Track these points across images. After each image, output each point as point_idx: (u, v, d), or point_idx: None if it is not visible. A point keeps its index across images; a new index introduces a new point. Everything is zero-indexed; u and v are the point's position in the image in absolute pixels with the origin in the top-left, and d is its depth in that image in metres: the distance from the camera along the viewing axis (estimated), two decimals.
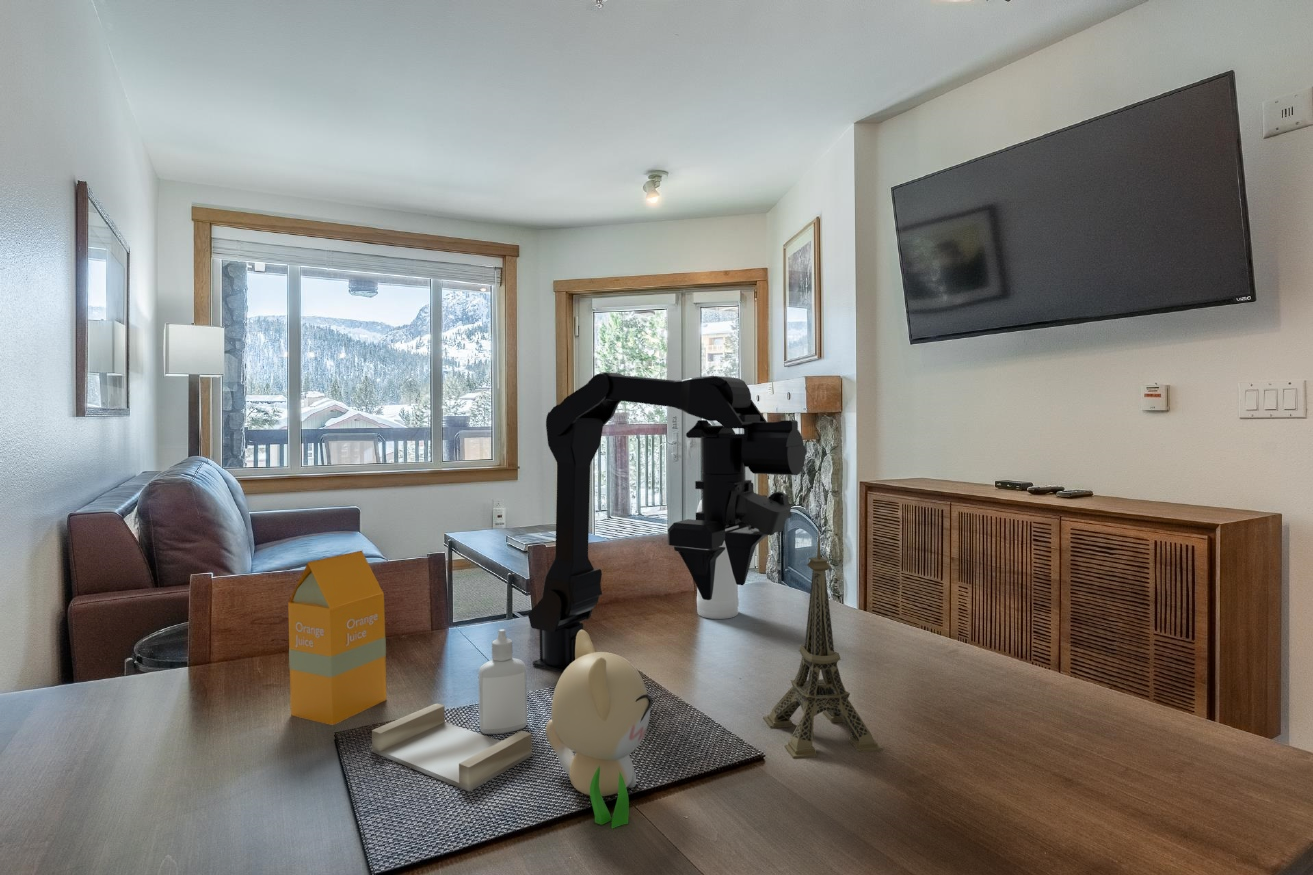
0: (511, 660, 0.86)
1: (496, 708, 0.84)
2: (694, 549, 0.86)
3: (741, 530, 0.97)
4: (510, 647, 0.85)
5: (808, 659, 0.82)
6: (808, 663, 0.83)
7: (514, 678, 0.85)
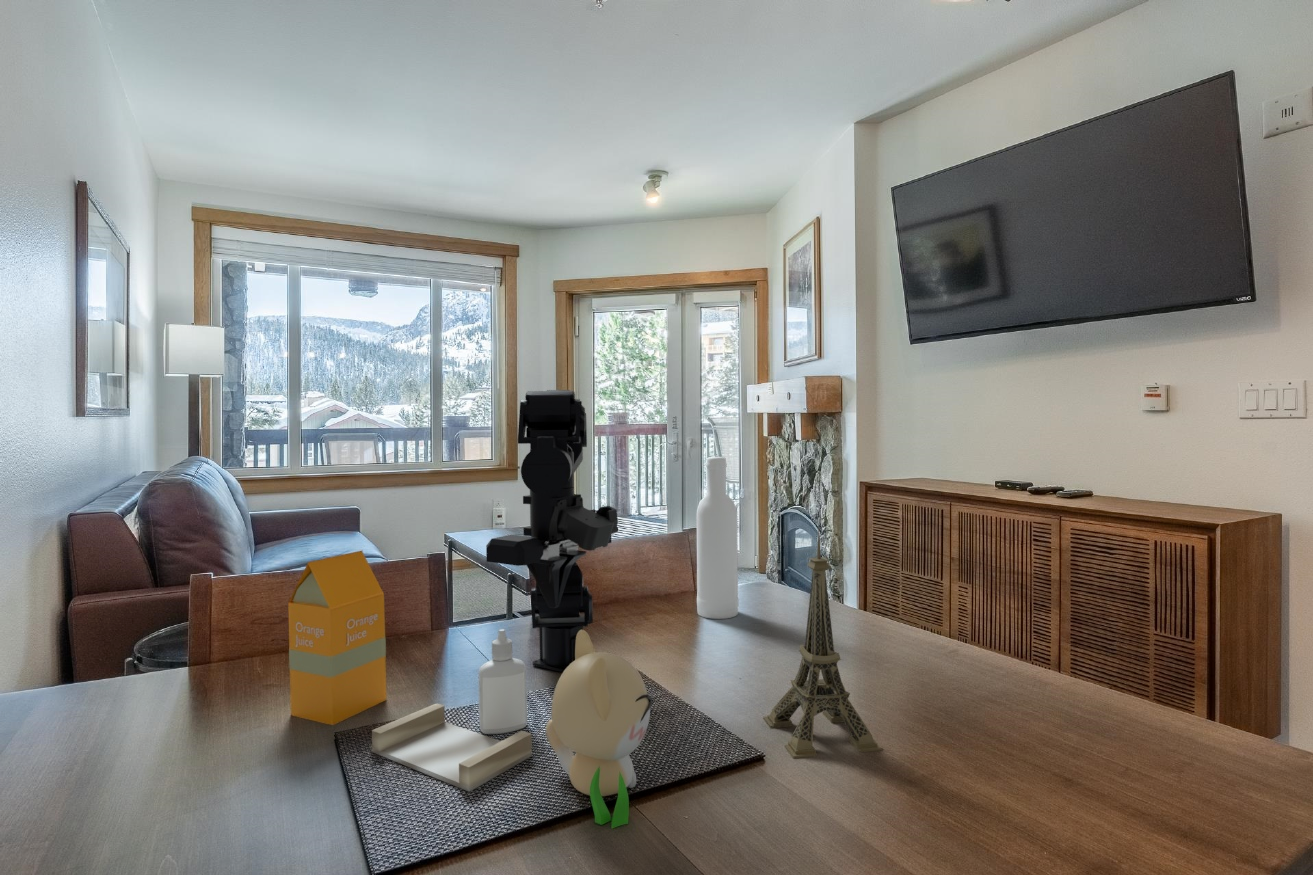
0: (511, 660, 0.86)
1: (496, 708, 0.84)
2: None
3: None
4: (510, 647, 0.85)
5: (808, 659, 0.82)
6: (808, 663, 0.83)
7: (514, 678, 0.85)
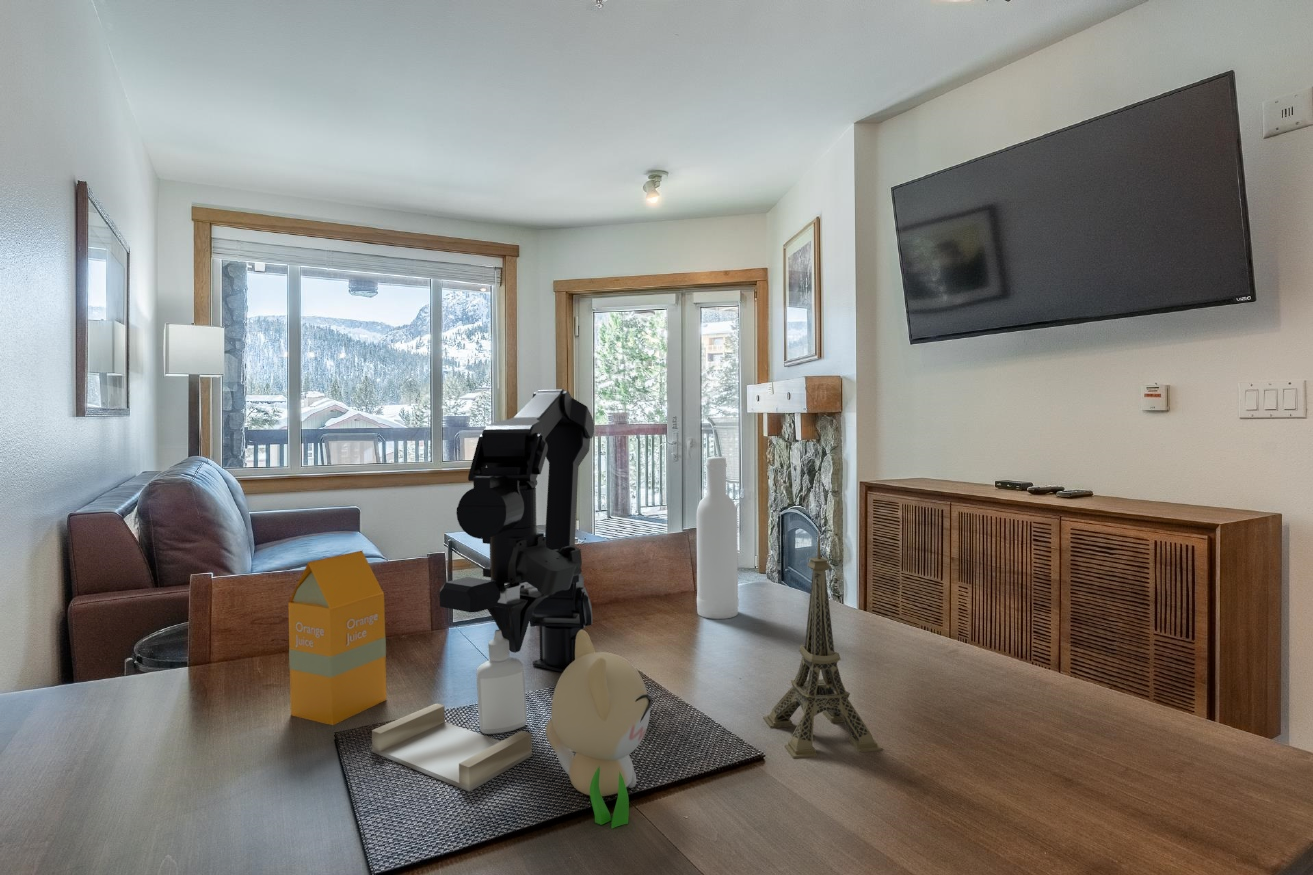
0: (508, 660, 0.85)
1: (495, 708, 0.84)
2: None
3: None
4: (506, 648, 0.85)
5: (808, 659, 0.82)
6: (808, 663, 0.83)
7: (512, 678, 0.85)
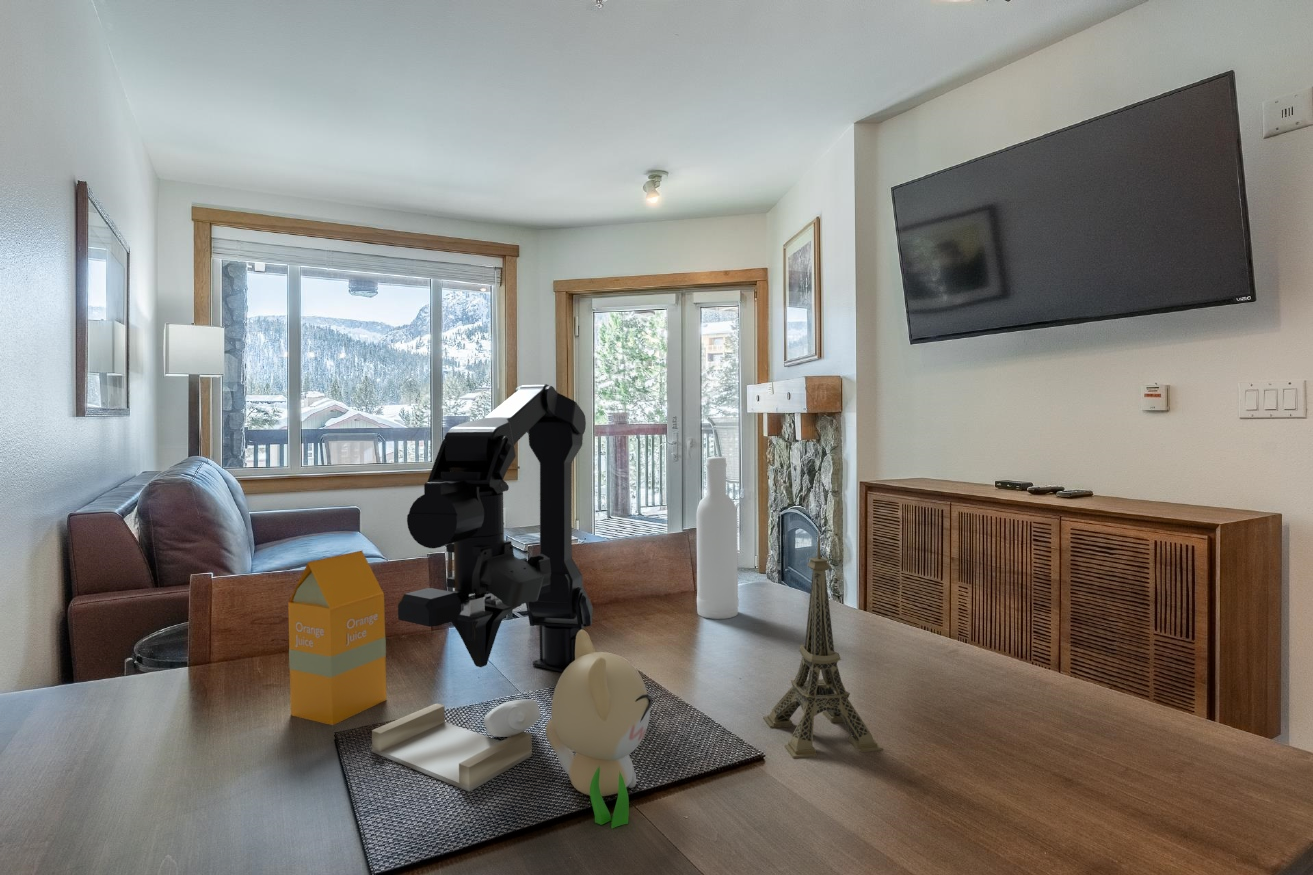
0: None
1: None
2: None
3: (485, 601, 0.84)
4: None
5: (808, 659, 0.82)
6: (808, 663, 0.83)
7: None
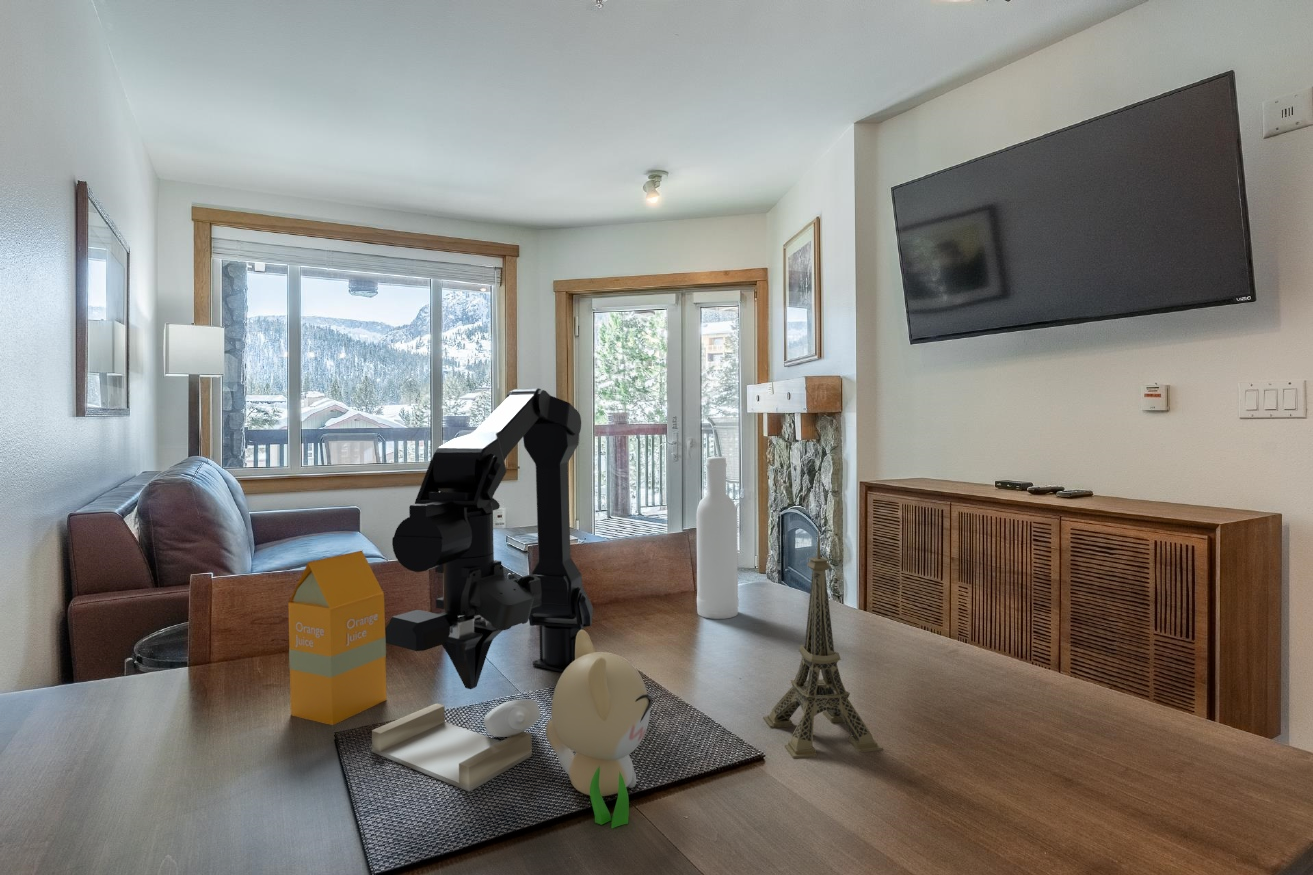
0: None
1: None
2: None
3: (475, 622, 0.83)
4: None
5: (808, 659, 0.82)
6: (808, 663, 0.83)
7: None
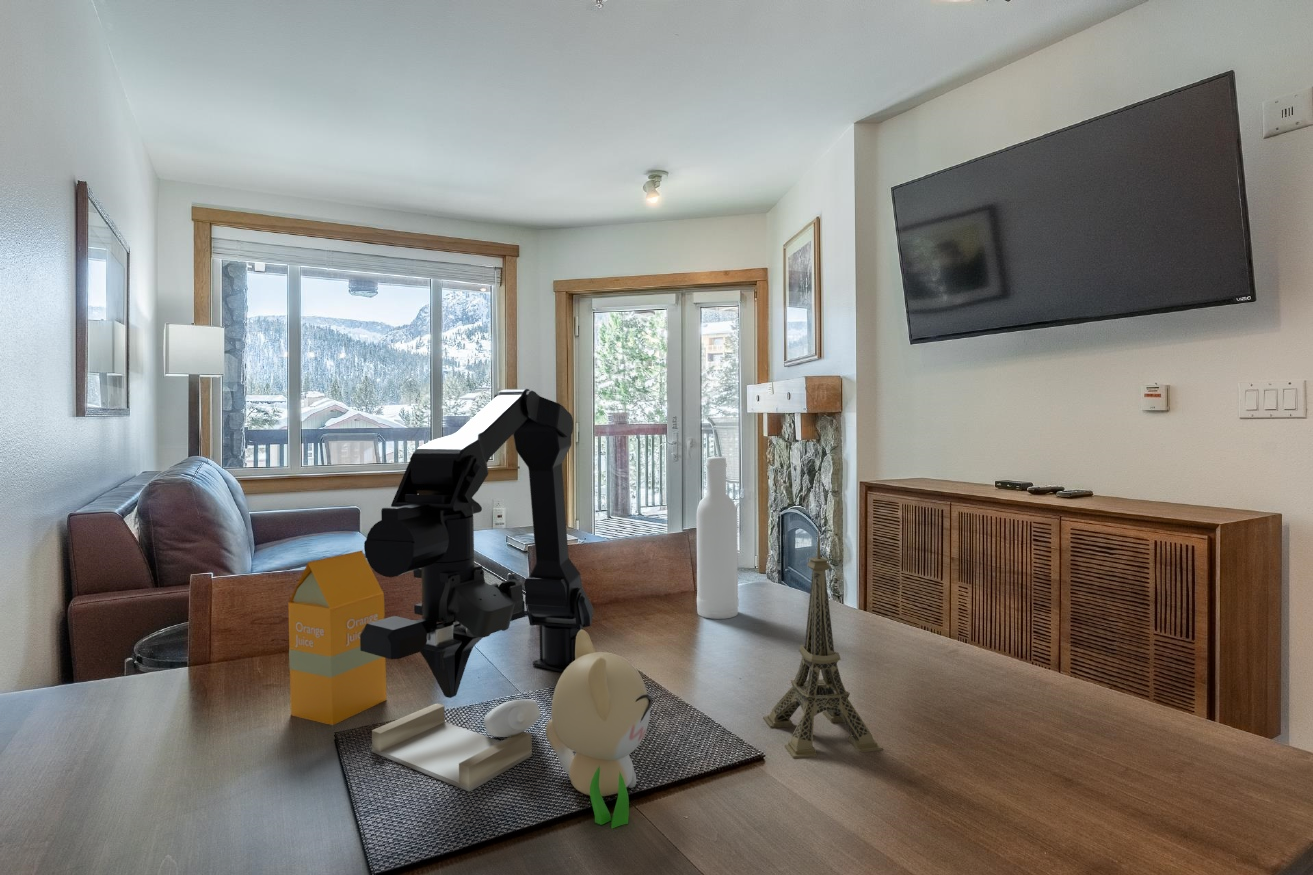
0: None
1: None
2: None
3: (455, 628, 0.80)
4: None
5: (808, 659, 0.82)
6: (808, 663, 0.83)
7: None
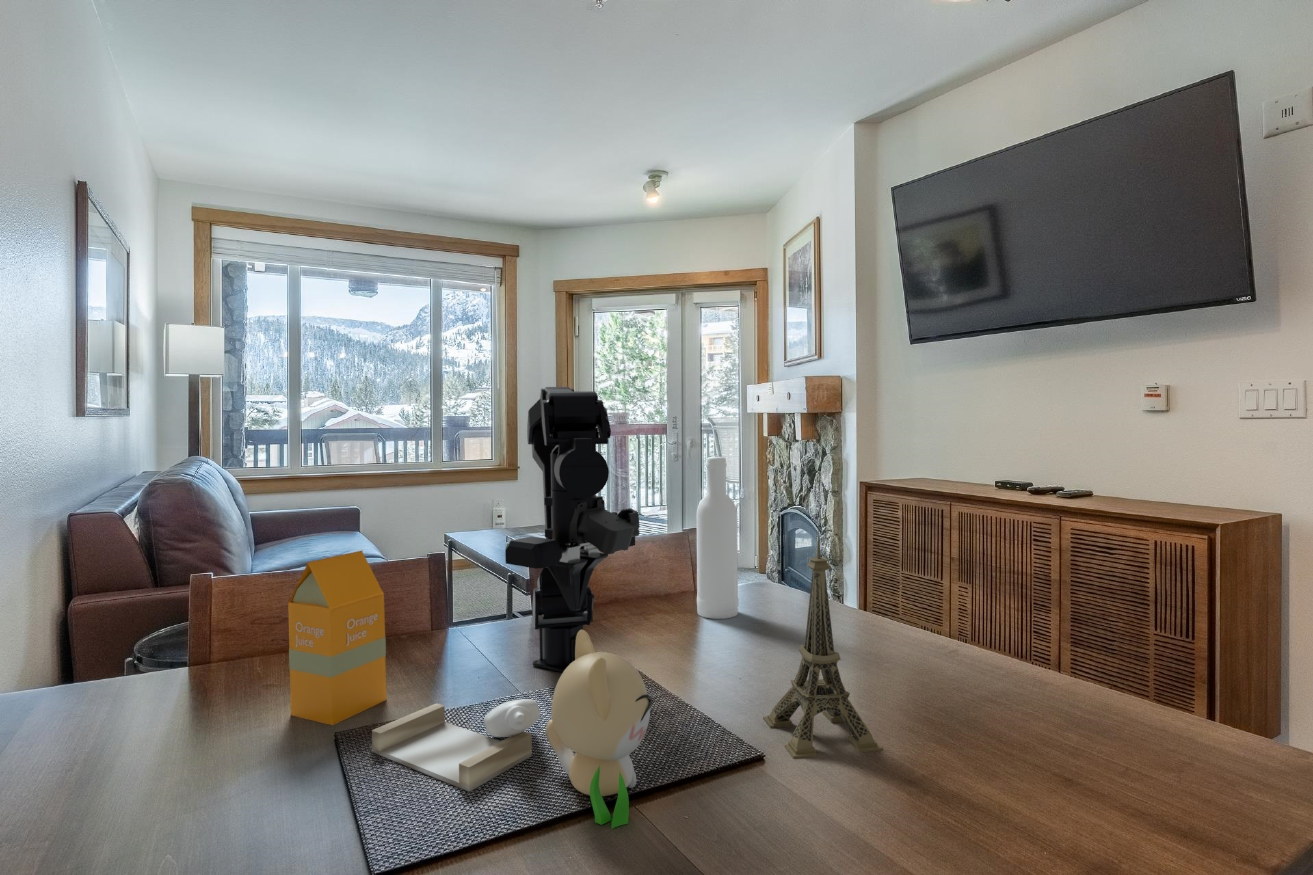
0: None
1: None
2: None
3: None
4: None
5: (808, 659, 0.82)
6: (808, 663, 0.83)
7: None
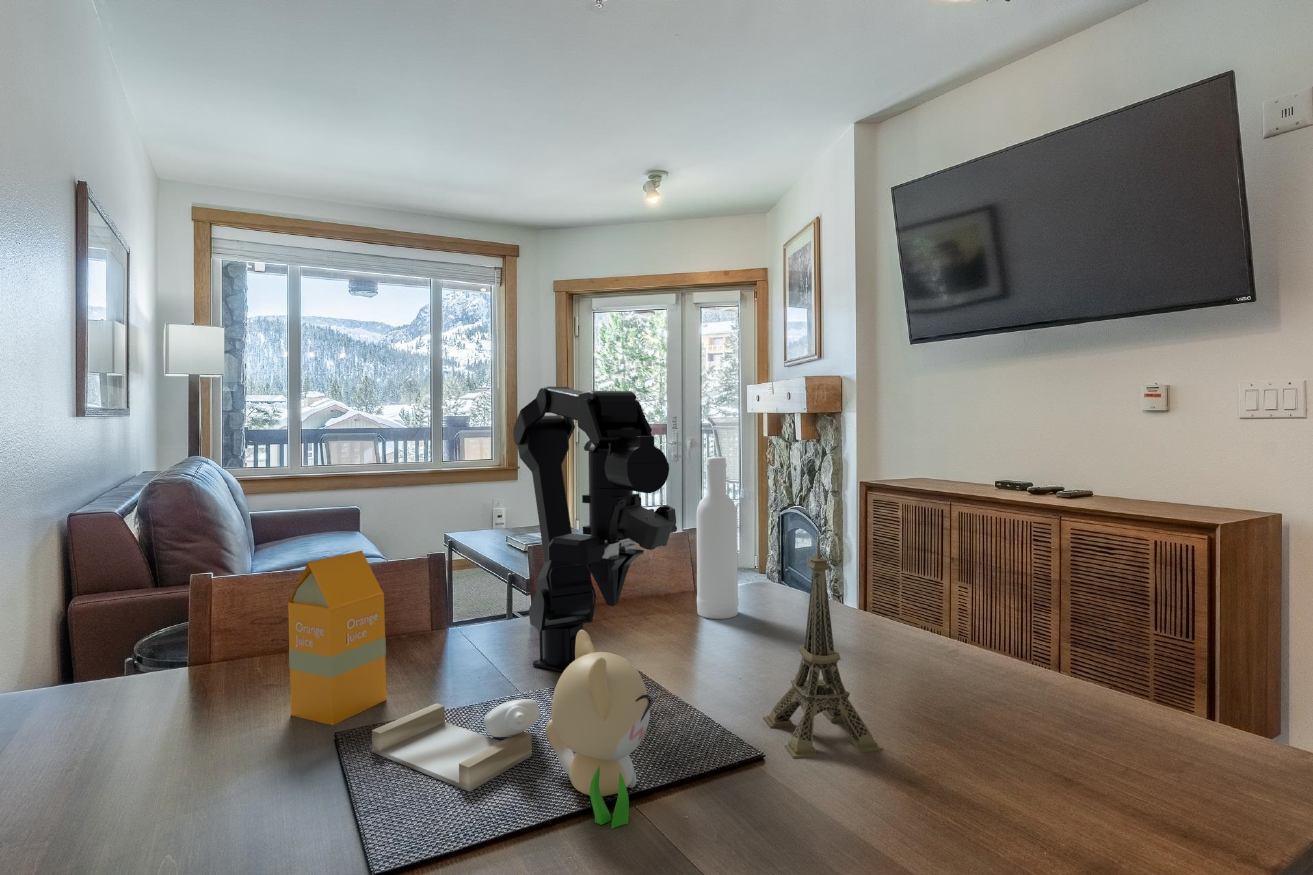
0: None
1: None
2: None
3: None
4: None
5: (808, 659, 0.82)
6: (808, 663, 0.83)
7: None
